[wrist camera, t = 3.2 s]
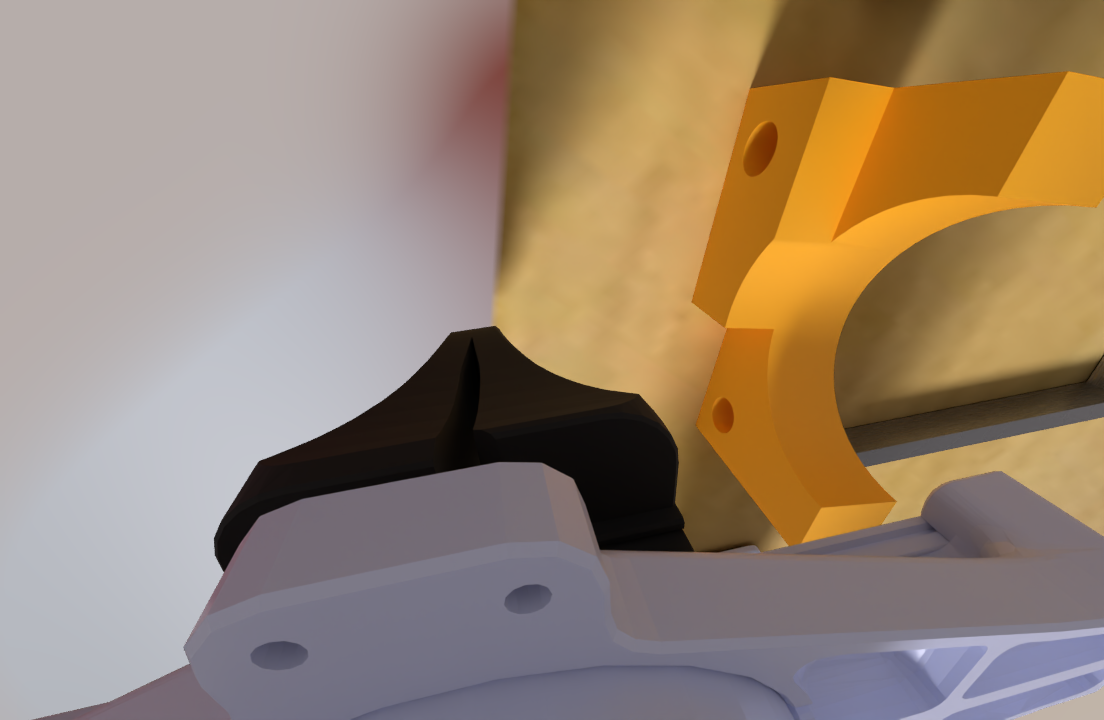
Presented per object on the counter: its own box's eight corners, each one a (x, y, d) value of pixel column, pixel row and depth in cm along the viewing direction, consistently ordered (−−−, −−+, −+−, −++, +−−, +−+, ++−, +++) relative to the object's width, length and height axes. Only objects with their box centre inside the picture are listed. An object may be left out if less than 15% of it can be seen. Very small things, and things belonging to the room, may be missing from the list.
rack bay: (1091, 394, 22) (1133, 412, 20) (757, 461, 20) (779, 486, 18) (1421, -84, 13) (1535, -109, 12) (874, -59, 11) (935, -87, 9)
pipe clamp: (746, 89, 12) (986, 54, 6) (869, 108, 13) (1174, 92, 7) (655, 423, 18) (743, 559, 12) (746, 421, 19) (866, 546, 13)
